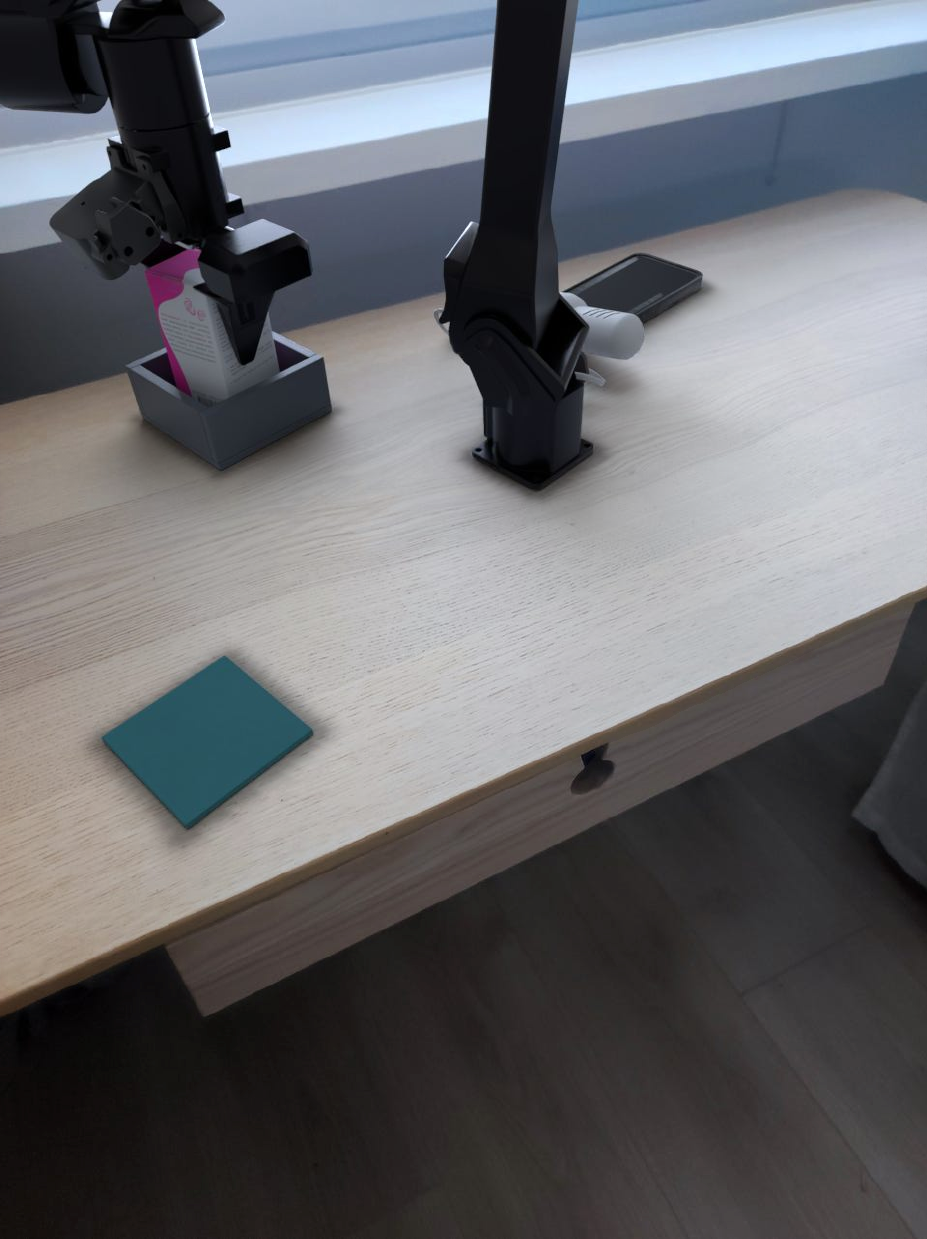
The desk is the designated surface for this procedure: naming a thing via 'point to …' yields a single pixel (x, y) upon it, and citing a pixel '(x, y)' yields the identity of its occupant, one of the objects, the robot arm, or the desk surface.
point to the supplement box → (202, 335)
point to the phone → (638, 286)
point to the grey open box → (234, 405)
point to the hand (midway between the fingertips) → (220, 348)
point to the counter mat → (206, 739)
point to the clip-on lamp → (600, 336)
